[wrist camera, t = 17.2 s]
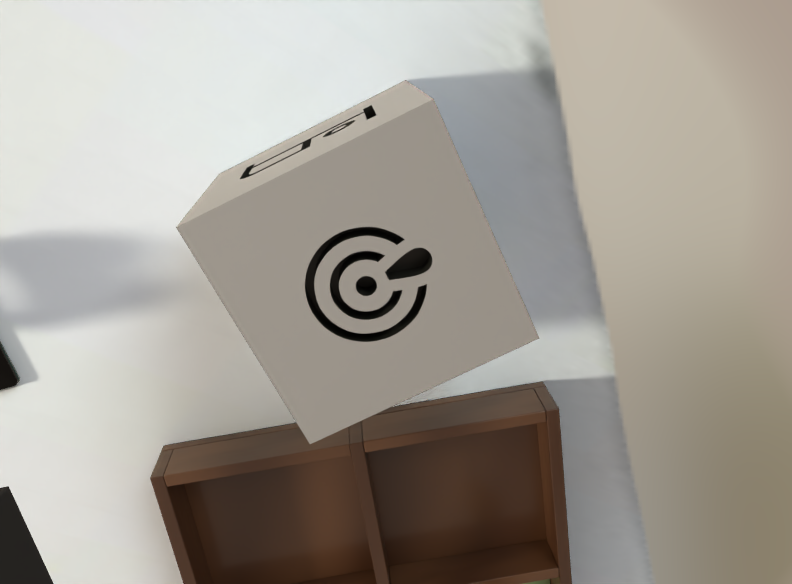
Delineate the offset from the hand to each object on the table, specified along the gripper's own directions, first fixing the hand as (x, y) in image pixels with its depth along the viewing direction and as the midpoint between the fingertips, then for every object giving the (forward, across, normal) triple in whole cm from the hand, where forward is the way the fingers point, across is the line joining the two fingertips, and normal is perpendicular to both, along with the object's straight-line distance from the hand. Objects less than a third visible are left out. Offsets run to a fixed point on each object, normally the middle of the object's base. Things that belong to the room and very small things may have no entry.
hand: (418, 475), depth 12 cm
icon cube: (+25, -1, -2) cm, 25 cm away
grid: (+25, -4, -23) cm, 34 cm away
